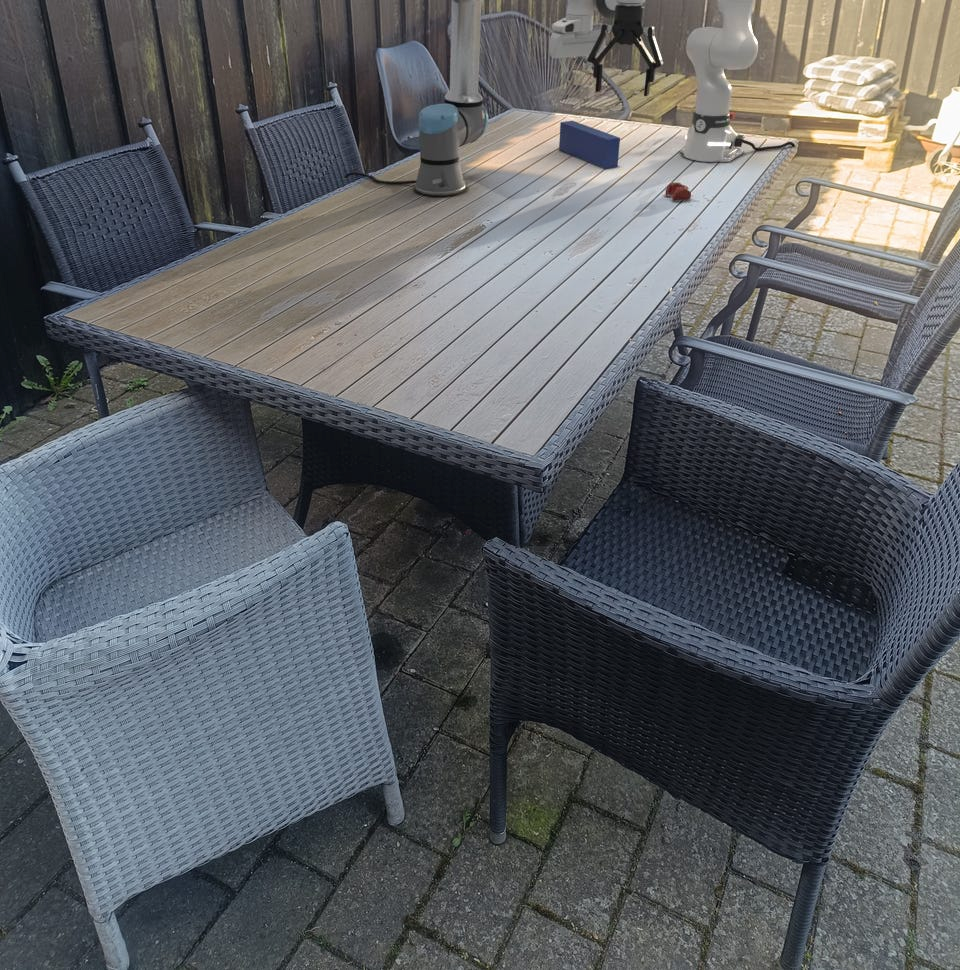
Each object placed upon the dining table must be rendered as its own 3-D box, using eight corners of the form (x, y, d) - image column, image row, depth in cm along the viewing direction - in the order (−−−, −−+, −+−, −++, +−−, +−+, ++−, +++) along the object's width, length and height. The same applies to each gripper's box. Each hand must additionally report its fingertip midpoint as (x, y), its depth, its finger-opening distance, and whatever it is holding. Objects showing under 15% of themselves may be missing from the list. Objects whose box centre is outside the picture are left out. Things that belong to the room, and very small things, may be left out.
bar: (617, 166, 279) (620, 137, 274) (605, 168, 277) (607, 139, 272) (570, 147, 299) (572, 120, 294) (558, 149, 297) (560, 122, 292)
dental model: (681, 178, 253) (693, 186, 247) (680, 192, 255) (692, 200, 249) (664, 180, 252) (676, 188, 246) (663, 194, 254) (674, 202, 248)
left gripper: (681, 4, 216) (670, 94, 228) (588, 0, 224) (582, 87, 237) (674, 8, 210) (663, 99, 223) (579, 3, 219) (574, 91, 231)
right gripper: (599, 20, 278) (596, 66, 286) (547, 24, 270) (545, 72, 278) (611, 23, 274) (607, 69, 282) (558, 27, 266) (556, 75, 274)
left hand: (622, 93), depth 230 cm, fingers open, 13 cm apart
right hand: (576, 71), depth 280 cm, fingers open, 8 cm apart
